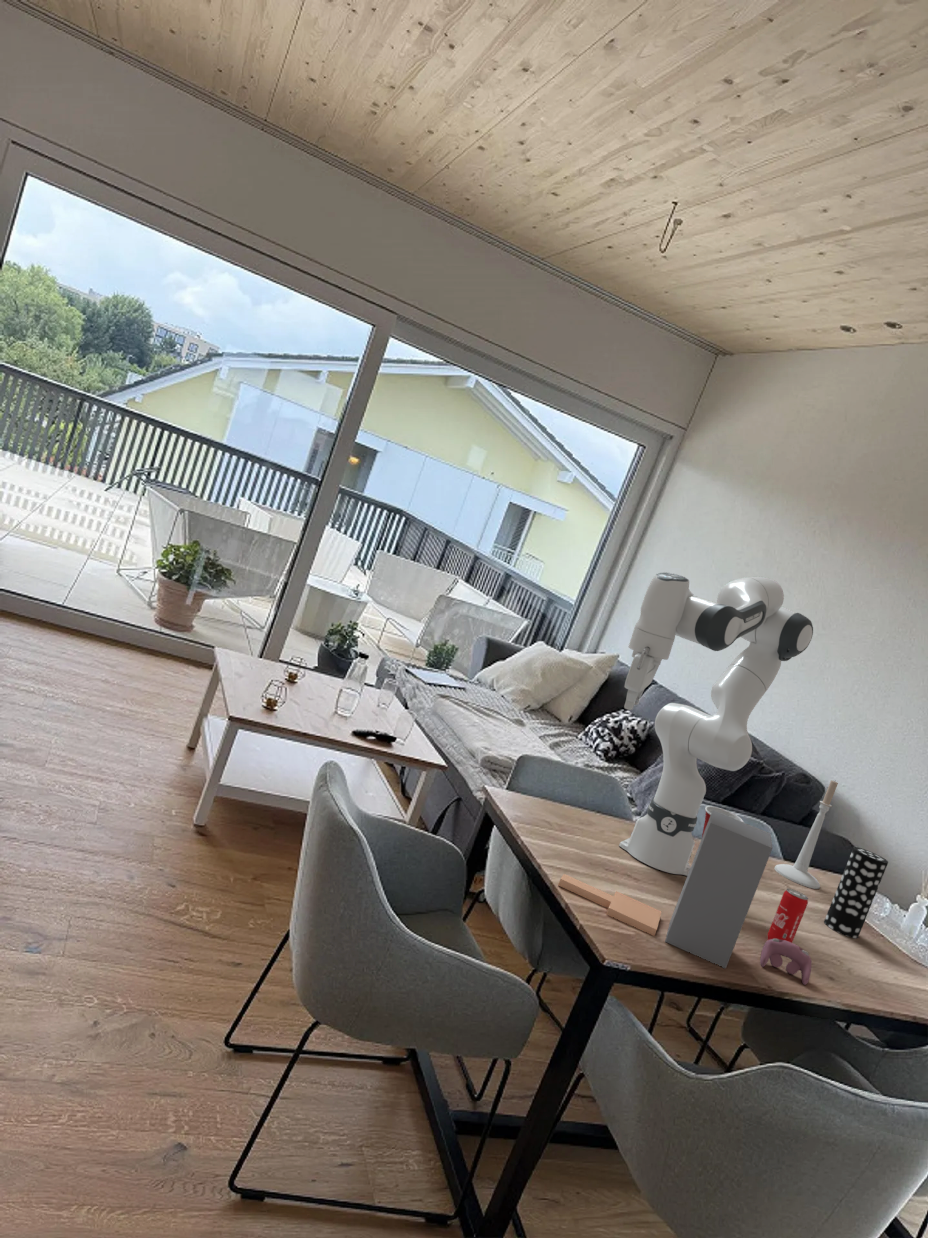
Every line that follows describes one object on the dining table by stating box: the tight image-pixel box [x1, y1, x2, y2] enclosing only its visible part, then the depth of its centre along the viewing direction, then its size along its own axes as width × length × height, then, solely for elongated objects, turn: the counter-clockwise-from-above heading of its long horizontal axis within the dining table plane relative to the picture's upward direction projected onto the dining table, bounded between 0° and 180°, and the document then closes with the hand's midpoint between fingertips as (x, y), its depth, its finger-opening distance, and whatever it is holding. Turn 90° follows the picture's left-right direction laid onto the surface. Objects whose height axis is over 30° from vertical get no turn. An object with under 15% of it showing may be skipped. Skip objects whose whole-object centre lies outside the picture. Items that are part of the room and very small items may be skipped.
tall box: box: [665, 810, 774, 969], centre depth 188 cm, size 13×12×25 cm
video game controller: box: [759, 939, 813, 986], centre depth 191 cm, size 10×5×7 cm, turn 73°
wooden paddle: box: [557, 873, 662, 937], centre depth 194 cm, size 12×21×2 cm, turn 72°
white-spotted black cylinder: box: [823, 846, 889, 939], centre depth 233 cm, size 8×8×20 cm
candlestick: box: [774, 780, 839, 890], centre depth 269 cm, size 13×13×30 cm
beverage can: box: [767, 887, 809, 943], centre depth 206 cm, size 5×5×12 cm
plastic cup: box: [701, 805, 745, 837], centre depth 263 cm, size 11×11×12 cm
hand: (631, 706), depth 207 cm, fingers open, 8 cm apart
